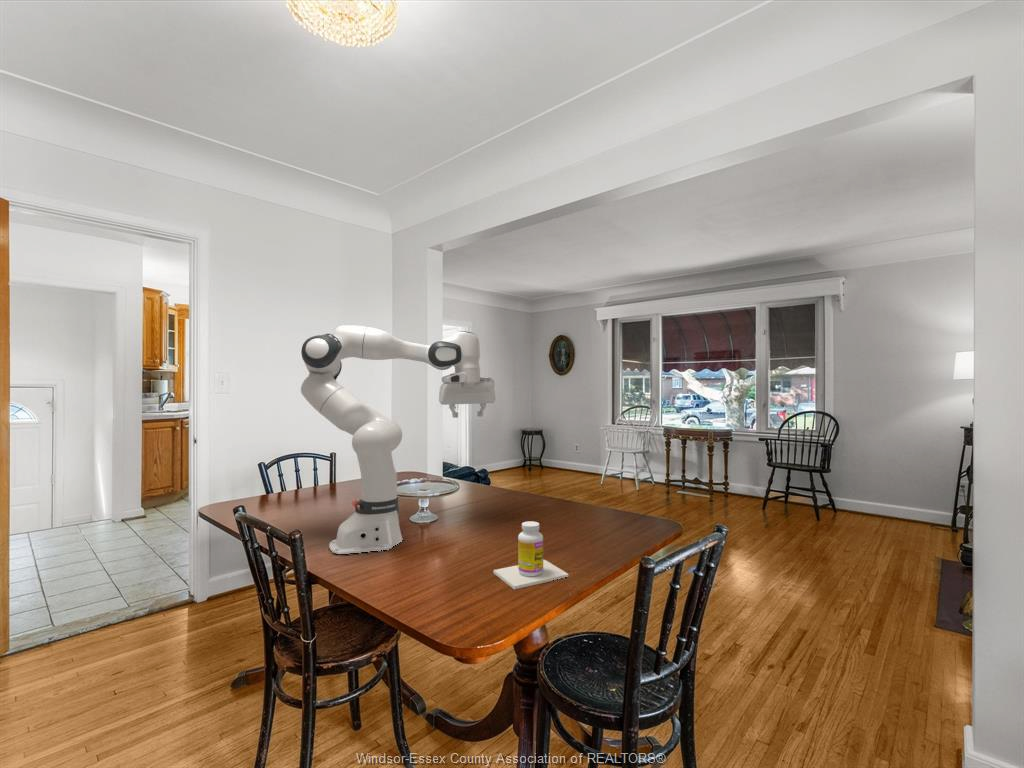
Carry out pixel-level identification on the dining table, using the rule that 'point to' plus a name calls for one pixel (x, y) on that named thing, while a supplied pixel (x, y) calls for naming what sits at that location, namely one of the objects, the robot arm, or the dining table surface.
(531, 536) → the supplement bottle
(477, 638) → the dining table surface
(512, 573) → the off-white mat
